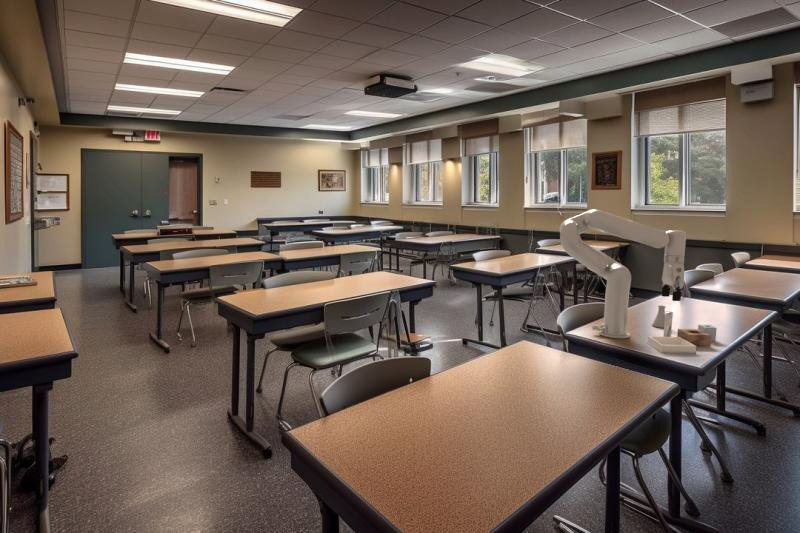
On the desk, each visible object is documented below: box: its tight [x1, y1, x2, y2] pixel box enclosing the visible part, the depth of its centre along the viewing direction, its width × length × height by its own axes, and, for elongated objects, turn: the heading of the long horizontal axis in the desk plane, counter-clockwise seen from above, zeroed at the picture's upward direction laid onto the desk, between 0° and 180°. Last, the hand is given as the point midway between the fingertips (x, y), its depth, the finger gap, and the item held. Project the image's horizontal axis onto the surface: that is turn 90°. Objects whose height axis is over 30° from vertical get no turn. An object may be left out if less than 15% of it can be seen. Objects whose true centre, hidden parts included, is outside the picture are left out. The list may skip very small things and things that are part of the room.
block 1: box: [676, 328, 712, 348], centre depth 204 cm, size 9×9×5 cm
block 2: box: [697, 324, 718, 342], centre depth 210 cm, size 5×5×6 cm
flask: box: [651, 305, 667, 329], centre depth 231 cm, size 7×7×10 cm
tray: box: [646, 335, 697, 355], centre depth 197 cm, size 13×13×3 cm
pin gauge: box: [663, 311, 674, 337], centre depth 210 cm, size 3×3×12 cm
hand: (670, 298), depth 208 cm, fingers open, 9 cm apart
